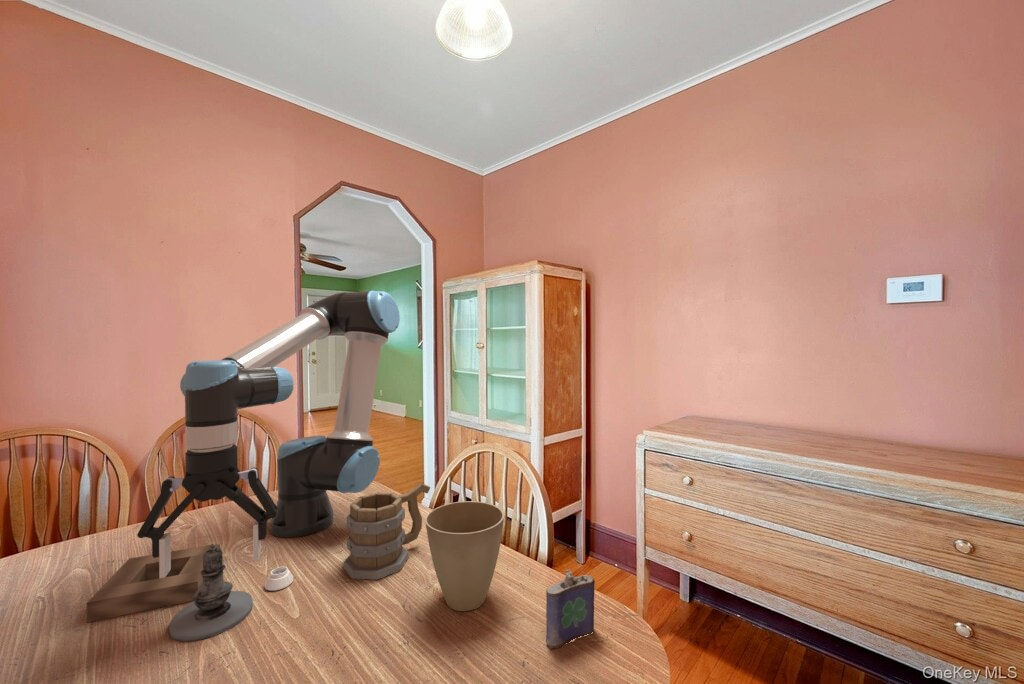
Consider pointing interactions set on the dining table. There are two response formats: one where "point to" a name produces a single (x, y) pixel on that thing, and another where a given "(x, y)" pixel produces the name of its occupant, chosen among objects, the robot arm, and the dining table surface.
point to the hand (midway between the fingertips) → (212, 565)
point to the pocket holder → (149, 585)
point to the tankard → (380, 533)
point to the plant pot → (465, 550)
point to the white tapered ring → (278, 579)
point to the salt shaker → (212, 587)
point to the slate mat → (192, 629)
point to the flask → (569, 609)
